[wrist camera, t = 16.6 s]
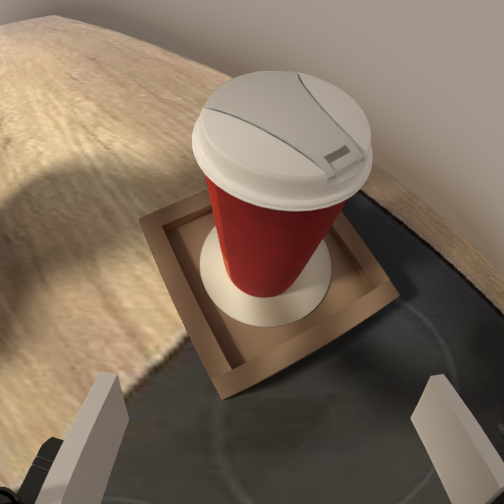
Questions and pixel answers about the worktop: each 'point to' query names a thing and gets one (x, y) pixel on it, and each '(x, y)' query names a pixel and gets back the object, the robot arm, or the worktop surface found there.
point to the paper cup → (278, 171)
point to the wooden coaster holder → (260, 309)
